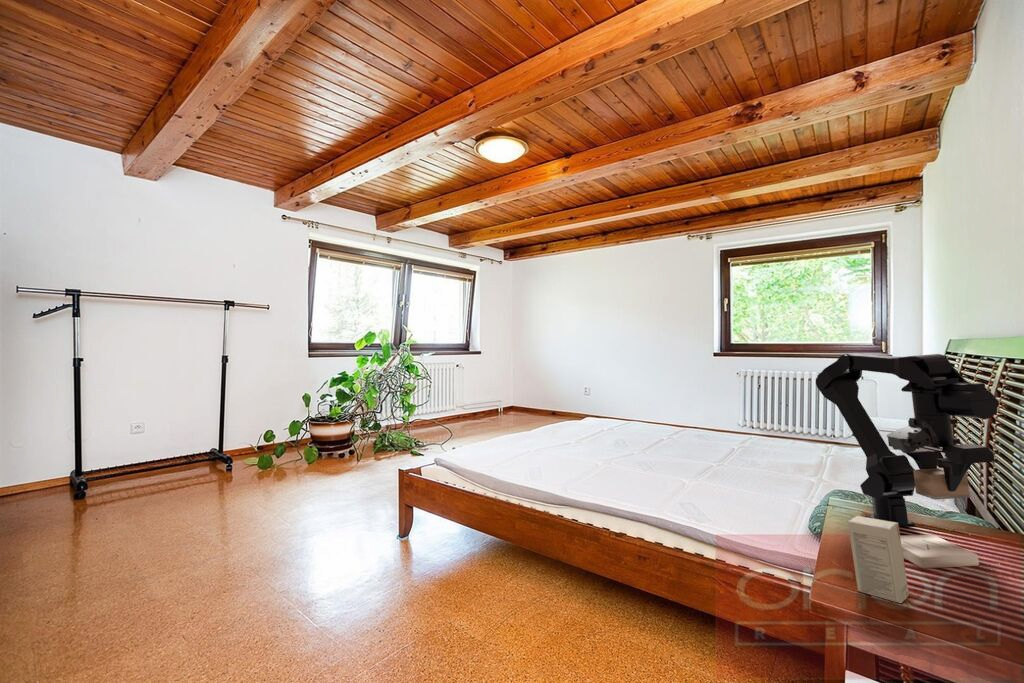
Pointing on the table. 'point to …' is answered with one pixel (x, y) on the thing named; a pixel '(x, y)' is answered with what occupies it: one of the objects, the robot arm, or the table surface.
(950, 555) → the birch board
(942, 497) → the block
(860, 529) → the skincare box
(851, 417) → the robot arm
